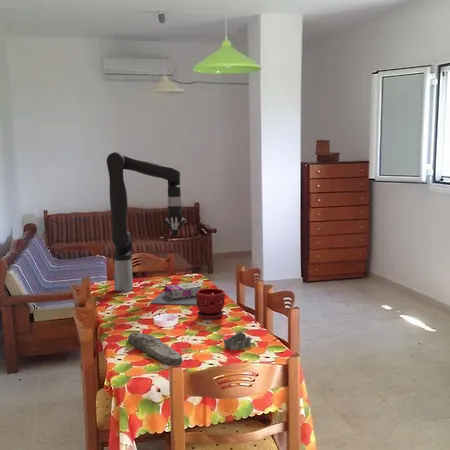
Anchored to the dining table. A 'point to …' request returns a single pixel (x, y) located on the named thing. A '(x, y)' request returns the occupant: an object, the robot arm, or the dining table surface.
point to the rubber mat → (174, 300)
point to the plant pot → (210, 303)
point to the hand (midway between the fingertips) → (175, 236)
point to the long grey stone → (155, 348)
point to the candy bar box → (181, 290)
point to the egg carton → (237, 341)
